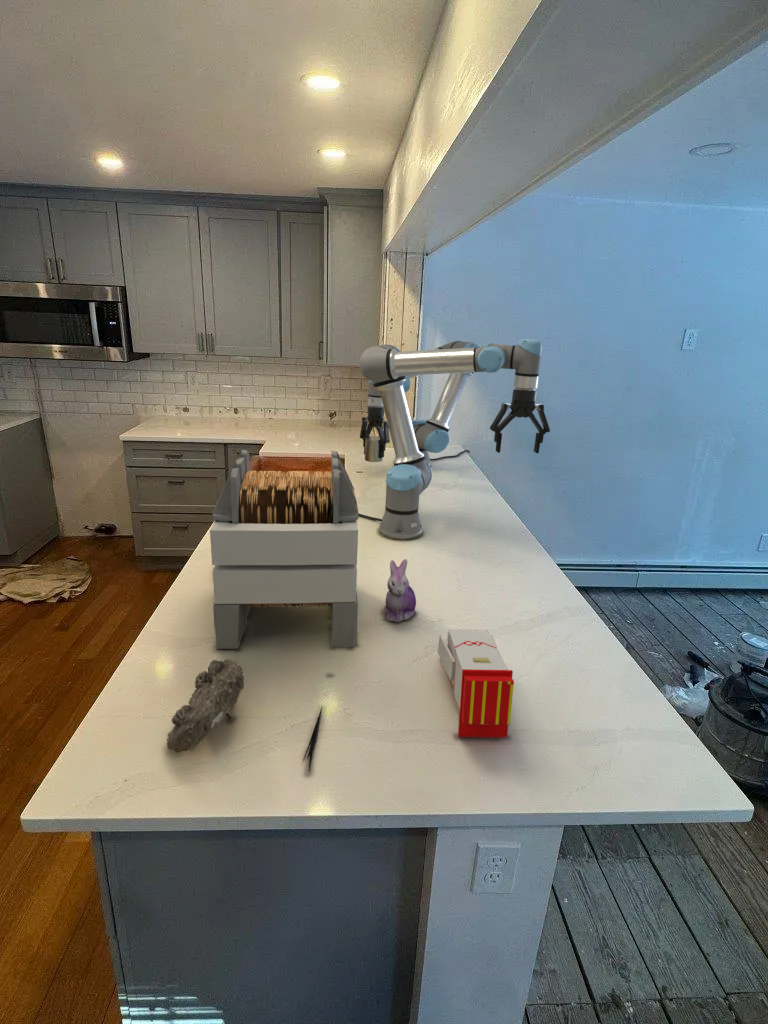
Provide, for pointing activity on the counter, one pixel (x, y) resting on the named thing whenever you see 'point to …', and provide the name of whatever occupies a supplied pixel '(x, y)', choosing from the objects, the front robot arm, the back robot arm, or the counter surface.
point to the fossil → (206, 705)
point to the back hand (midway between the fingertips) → (373, 455)
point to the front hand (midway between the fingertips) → (517, 452)
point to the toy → (478, 682)
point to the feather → (313, 740)
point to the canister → (372, 449)
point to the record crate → (285, 547)
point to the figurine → (399, 594)
